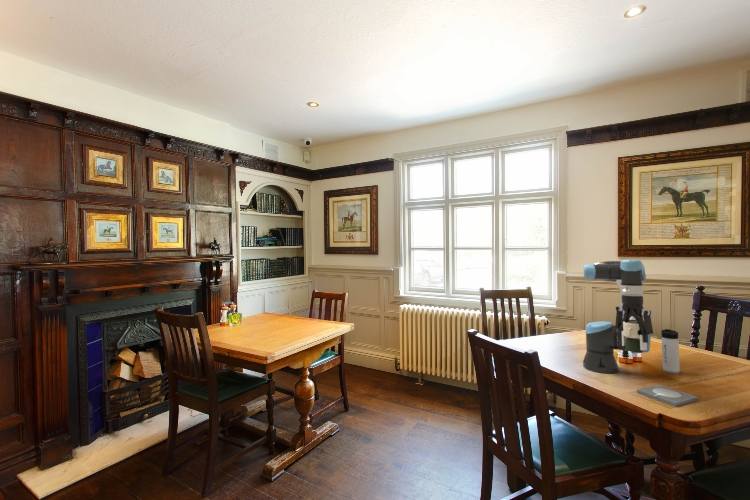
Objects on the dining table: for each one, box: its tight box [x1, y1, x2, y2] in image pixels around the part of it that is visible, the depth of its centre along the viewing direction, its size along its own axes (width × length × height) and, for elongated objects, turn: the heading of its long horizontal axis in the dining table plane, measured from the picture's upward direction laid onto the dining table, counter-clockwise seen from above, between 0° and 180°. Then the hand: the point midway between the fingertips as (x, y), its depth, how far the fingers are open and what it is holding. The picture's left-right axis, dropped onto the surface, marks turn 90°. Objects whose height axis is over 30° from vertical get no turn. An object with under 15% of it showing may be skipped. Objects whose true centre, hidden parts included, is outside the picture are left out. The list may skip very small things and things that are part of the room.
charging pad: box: [636, 384, 699, 407], centre depth 139 cm, size 14×14×2 cm
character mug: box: [623, 321, 643, 354], centre depth 148 cm, size 11×7×13 cm, turn 127°
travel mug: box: [660, 328, 681, 375], centre depth 165 cm, size 6×7×20 cm
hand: (634, 347), depth 148 cm, fingers closed on character mug, 7 cm apart
